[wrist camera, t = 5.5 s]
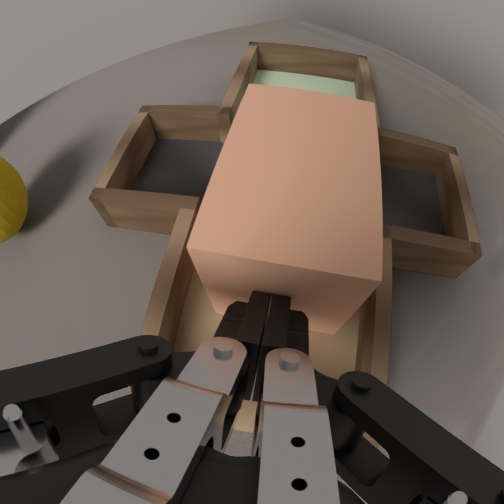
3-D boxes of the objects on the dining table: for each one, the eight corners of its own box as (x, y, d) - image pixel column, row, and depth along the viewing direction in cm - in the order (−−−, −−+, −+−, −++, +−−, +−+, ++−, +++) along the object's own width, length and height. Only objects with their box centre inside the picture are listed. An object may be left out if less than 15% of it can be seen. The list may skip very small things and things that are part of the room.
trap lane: (452, 439, 12) (483, 441, 10) (58, 373, 15) (27, 364, 12) (416, 95, 25) (424, 71, 23) (194, 66, 28) (189, 41, 25)
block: (333, 334, 15) (381, 281, 9) (216, 313, 16) (186, 247, 10) (346, 191, 19) (374, 102, 13) (252, 176, 20) (248, 83, 14)
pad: (359, 155, 21) (360, 150, 21) (235, 137, 22) (235, 133, 22) (353, 85, 25) (354, 82, 25) (257, 73, 26) (257, 69, 26)
